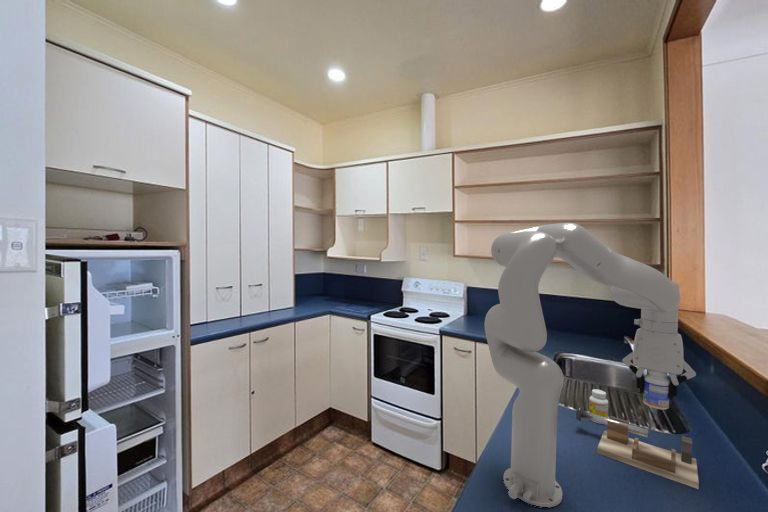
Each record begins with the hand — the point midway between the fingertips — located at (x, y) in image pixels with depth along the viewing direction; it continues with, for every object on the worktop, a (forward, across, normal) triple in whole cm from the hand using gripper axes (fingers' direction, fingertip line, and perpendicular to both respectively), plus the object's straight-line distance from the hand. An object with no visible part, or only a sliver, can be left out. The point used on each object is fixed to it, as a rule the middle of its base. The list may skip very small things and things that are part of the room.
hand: (656, 394), depth 88 cm
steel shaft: (+15, -10, +5) cm, 19 cm away
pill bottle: (+3, 0, 0) cm, 3 cm away
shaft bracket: (+19, -2, +1) cm, 19 cm away
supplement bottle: (+19, -15, +17) cm, 30 cm away
